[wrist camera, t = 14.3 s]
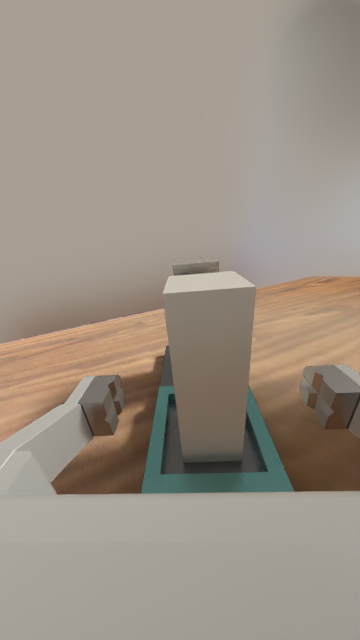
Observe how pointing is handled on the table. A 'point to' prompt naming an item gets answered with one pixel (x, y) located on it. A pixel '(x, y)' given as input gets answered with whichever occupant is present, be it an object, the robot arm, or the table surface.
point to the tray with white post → (208, 477)
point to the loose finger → (210, 361)
